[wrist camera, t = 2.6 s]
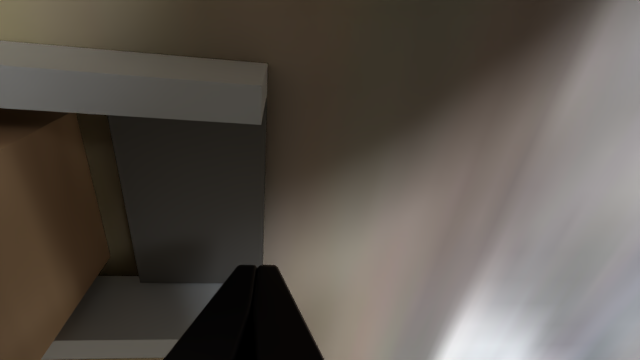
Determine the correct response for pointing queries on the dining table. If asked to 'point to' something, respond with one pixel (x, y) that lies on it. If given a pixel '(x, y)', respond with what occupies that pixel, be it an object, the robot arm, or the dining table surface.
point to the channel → (158, 181)
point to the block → (44, 229)
